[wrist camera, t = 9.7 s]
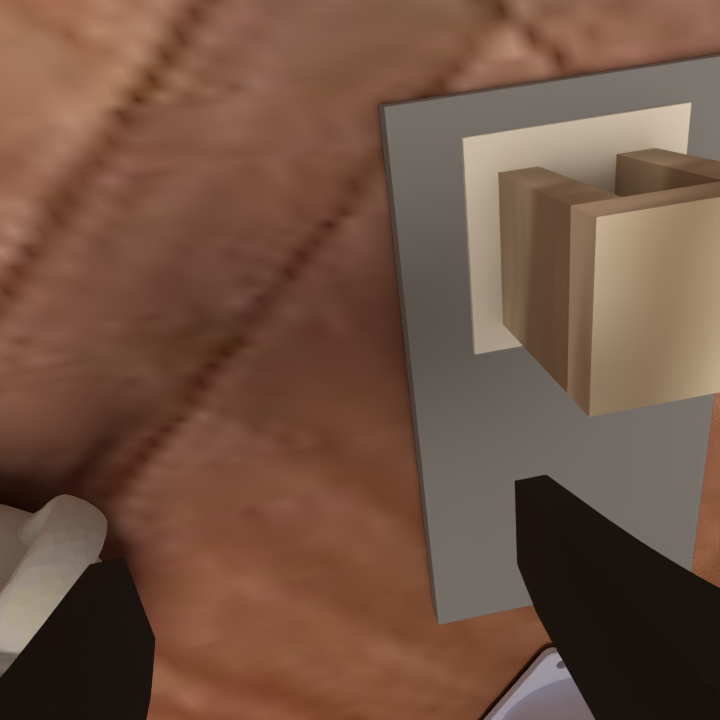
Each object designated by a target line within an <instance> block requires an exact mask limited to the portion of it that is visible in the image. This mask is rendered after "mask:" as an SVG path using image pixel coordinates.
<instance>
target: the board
mask: <svg viewBox="0 0 720 720" xmlns="http://www.w3.org/2000/svg"><path fill="white" fill-rule="evenodd" d="M378 108H379V117H380V126H381V135H382V144H383V154H384V163H385V172H386V181H387V190H388V200H389V209H390V218H391V227H392V236H393V245H394V255H395V264H396V273H397V282H398V291H399V301H400V310H401V319H402V328H403V337H404V346H405V356H406V365H407V374H408V383H409V392H410V402H411V411H412V420H413V429H414V438H415V448H416V457H417V466H418V475H419V484H420V493H421V503H422V512H423V521H424V530H425V539H426V549H427V558H428V567H429V576H430V585H431V594H432V604H433V608H434V612H435V615H436V618H437V621H438V624H439V625H440V624H445V623H450V622H454V621H459V620H464V619H469V618H473V617H478V616H483V615H488V614H492V613H497V612H502V611H506V610H511V609H516V608H521V607H525V606H530V605H533V603H532V600H531V598H530V596H529V593H528V591H527V588H526V586H525V583H524V581H523V578H522V575H521V573H520V570H519V568H518V565H517V549H516V514H515V480H520V479H525V478H530V477H535V476H541V475H548V476H549V477H551V478H552V479H553V480H555V481H556V482H558V483H559V484H560V485H562V486H563V487H564V488H566V489H567V490H569V491H570V492H571V493H573V494H574V495H575V496H577V497H578V498H580V499H581V500H582V501H584V502H585V503H586V504H588V505H589V506H591V507H592V508H593V509H595V510H596V511H598V512H599V513H600V514H602V515H603V516H605V517H606V518H607V519H609V520H610V521H612V522H613V523H615V524H616V525H617V526H619V527H620V528H622V529H623V530H625V531H626V532H628V533H629V534H631V535H632V536H634V537H635V538H637V539H638V540H640V541H641V542H643V543H644V544H646V545H648V546H649V547H651V548H652V549H654V550H655V551H657V552H659V553H660V554H662V555H663V556H665V557H667V558H668V559H670V560H672V561H673V562H675V563H677V564H678V565H680V566H682V567H683V568H685V569H687V570H688V571H690V572H691V570H692V563H693V555H694V547H695V540H696V532H697V525H698V517H699V510H700V502H701V494H702V487H703V479H704V472H705V464H706V457H707V449H708V442H709V434H710V426H711V419H712V411H713V404H714V396H715V393H714V394H709V395H704V396H698V397H693V398H688V399H682V400H677V401H672V402H666V403H661V404H656V405H650V406H645V407H640V408H635V409H629V410H624V411H619V412H613V413H608V414H603V415H597V416H592V417H589V416H588V415H587V414H586V413H585V412H584V411H583V410H582V409H581V408H580V407H579V406H578V405H577V403H576V402H575V401H574V400H573V399H572V398H571V397H570V396H569V395H568V394H567V393H566V392H565V391H564V389H563V388H562V387H561V386H560V385H559V384H558V383H557V382H556V381H555V380H554V379H553V378H552V377H551V376H550V374H549V373H548V372H547V371H546V370H545V369H544V368H543V367H542V366H541V365H540V364H539V363H538V362H537V360H536V359H535V358H534V357H533V356H532V355H531V354H530V353H529V352H528V351H527V350H526V349H525V348H524V347H523V345H522V344H521V343H520V342H519V341H518V340H517V339H516V338H515V337H514V336H513V335H512V334H511V333H510V332H509V330H508V329H507V328H506V327H505V326H504V325H503V312H502V280H501V247H500V214H499V181H498V173H499V172H506V171H512V170H518V169H525V168H531V167H537V166H538V167H541V168H544V169H547V170H549V171H552V172H555V173H558V174H560V175H563V176H566V177H568V178H571V179H574V180H577V181H579V182H582V183H585V184H588V185H590V186H593V187H596V188H599V189H601V190H604V191H607V192H609V193H612V194H615V177H616V156H617V154H620V153H626V152H632V151H639V150H645V149H651V148H658V149H663V150H668V151H672V152H677V153H682V154H687V155H692V156H696V157H701V158H706V159H711V160H715V161H720V54H714V55H707V56H700V57H694V58H687V59H680V60H674V61H667V62H660V63H654V64H647V65H641V66H634V67H627V68H621V69H614V70H607V71H601V72H594V73H587V74H581V75H574V76H568V77H561V78H554V79H548V80H541V81H534V82H528V83H521V84H514V85H508V86H501V87H495V88H488V89H481V90H475V91H468V92H461V93H455V94H448V95H442V96H435V97H428V98H422V99H415V100H408V101H402V102H395V103H388V104H382V105H378Z"/></svg>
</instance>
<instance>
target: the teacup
mask: <svg viewBox="0 0 720 720" xmlns="http://www.w3.org/2000/svg"><path fill="white" fill-rule="evenodd" d="M106 534H107V519H106V518H105V516H104V515H103V513H102V512H101V511H100V510H99V509H98V508H97V507H95V506H94V505H92V504H90V503H89V502H87V501H85V500H82V499H80V498H77V497H75V496H71V495H66V494H64V495H60V496H57V497H55V498H53V499H52V500H51V501H49V502H48V503H47V504H46V505H45V506H44V507H43V508H42V509H40V510H39V511H37V512H35V513H34V514H33V513H30V512H27V511H24V510H20V509H17V508H14V507H10V506H7V505H2V504H0V677H1V676H2V675H3V674H4V672H5V671H6V670H7V669H8V668H9V667H10V665H11V664H12V663H13V662H14V660H15V659H16V658H17V656H18V655H19V654H20V653H21V651H22V650H23V649H24V648H25V646H26V645H27V644H28V643H29V641H30V640H31V639H32V638H33V636H34V635H35V634H36V633H37V631H38V630H39V629H40V627H41V626H42V625H43V624H44V622H45V621H46V620H47V618H48V617H49V616H50V614H51V613H52V612H53V611H54V609H55V608H56V607H57V605H58V604H59V603H60V601H61V600H62V599H63V598H64V596H65V595H66V594H67V592H68V591H69V590H70V588H71V587H72V586H73V585H74V583H75V582H76V581H77V579H78V578H79V577H80V576H81V574H82V573H83V572H84V571H85V569H86V568H87V567H88V566H89V564H93V563H98V562H102V561H101V560H100V558H99V557H98V556H99V554H100V552H101V549H102V547H103V544H104V540H105V537H106Z"/></svg>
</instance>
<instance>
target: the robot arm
mask: <svg viewBox="0 0 720 720" xmlns="http://www.w3.org/2000/svg"><path fill="white" fill-rule="evenodd" d="M515 514H516V549H517V565H518V568H519V570H520V573H521V575H522V578H523V581H524V583H525V586H526V588H527V591H528V593H529V596H530V598H531V600H532V603H533V605H534V608H535V610H536V612H537V615H538V616H539V618H540V620H541V622H542V624H543V626H544V628H545V629H546V631H547V633H548V635H549V637H550V639H551V640H552V642H553V644H554V646H555V648H553V647H552V648H548V649H546V650H544V651H543V652H542V653H541V654H540V656H539V657H538V658H537V659H536V660H535V661H534V662H533V664H532V665H531V666H530V667H529V668H528V669H527V670H526V672H525V673H524V674H523V675H522V676H521V677H520V678H519V680H518V681H517V682H516V683H515V684H514V685H513V686H512V688H511V689H510V690H509V691H508V692H507V693H506V694H505V696H504V697H503V698H502V699H501V700H500V701H499V702H498V703H497V705H496V706H495V707H494V708H493V709H492V710H491V711H490V713H489V714H488V715H487V716H486V717H485V718H484V719H483V720H720V588H719V587H717V586H715V585H713V584H711V583H709V582H708V581H706V580H704V579H702V578H700V577H699V576H697V575H695V574H693V573H692V572H690V571H688V570H687V569H685V568H683V567H682V566H680V565H678V564H677V563H675V562H673V561H672V560H670V559H668V558H667V557H665V556H663V555H662V554H660V553H659V552H657V551H655V550H654V549H652V548H651V547H649V546H648V545H646V544H644V543H643V542H641V541H640V540H638V539H637V538H635V537H634V536H632V535H631V534H629V533H628V532H626V531H625V530H623V529H622V528H620V527H619V526H617V525H616V524H615V523H613V522H612V521H610V520H609V519H607V518H606V517H605V516H603V515H602V514H600V513H599V512H598V511H596V510H595V509H593V508H592V507H591V506H589V505H588V504H586V503H585V502H584V501H582V500H581V499H580V498H578V497H577V496H575V495H574V494H573V493H571V492H570V491H569V490H567V489H566V488H564V487H563V486H562V485H560V484H559V483H558V482H556V481H555V480H553V479H552V478H551V477H549V476H548V475H541V476H535V477H530V478H525V479H520V480H515ZM154 649H155V637H154V634H153V632H152V629H151V626H150V624H149V621H148V619H147V616H146V613H145V611H144V608H143V605H142V603H141V600H140V598H139V595H138V592H137V590H136V587H135V585H134V582H133V579H132V577H131V574H130V572H129V569H128V566H127V564H126V561H125V559H124V558H119V559H114V560H108V561H103V562H98V563H93V564H89V566H88V567H87V568H86V569H85V571H84V572H83V573H82V574H81V576H80V577H79V578H78V579H77V581H76V582H75V583H74V585H73V586H72V587H71V588H70V590H69V591H68V592H67V594H66V595H65V596H64V598H63V599H62V600H61V601H60V603H59V604H58V605H57V607H56V608H55V609H54V611H53V612H52V613H51V614H50V616H49V617H48V618H47V620H46V621H45V622H44V624H43V625H42V626H41V627H40V629H39V630H38V631H37V633H36V634H35V635H34V636H33V638H32V639H31V640H30V641H29V643H28V644H27V645H26V646H25V648H24V649H23V650H22V651H21V653H20V654H19V655H18V656H17V658H16V659H15V660H14V662H13V663H12V664H11V665H10V667H9V668H8V669H7V670H6V671H5V672H4V674H3V675H2V676H1V677H0V720H146V718H147V713H148V708H149V703H150V697H151V687H152V676H153V664H154Z"/></svg>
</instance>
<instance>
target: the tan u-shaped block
mask: <svg viewBox="0 0 720 720" xmlns="http://www.w3.org/2000/svg"><path fill="white" fill-rule="evenodd" d="M498 181H499V214H500V247H501V280H502V312H503V325H504V326H505V327H506V328H507V329H508V330H509V332H510V333H511V334H512V335H513V336H514V337H515V338H516V339H517V340H518V341H519V342H520V343H521V344H522V345H523V347H524V348H525V349H526V350H527V351H528V352H529V353H530V354H531V355H532V356H533V357H534V358H535V359H536V360H537V362H538V363H539V364H540V365H541V366H542V367H543V368H544V369H545V370H546V371H547V372H548V373H549V374H550V376H551V377H552V378H553V379H554V380H555V381H556V382H557V383H558V384H559V385H560V386H561V387H562V388H563V389H564V391H565V392H566V393H567V394H568V395H569V396H570V397H571V398H572V399H573V400H574V401H575V402H576V403H577V405H578V406H579V407H580V408H581V409H582V410H583V411H584V412H585V413H586V414H587V415H588V416H589V417H592V416H597V415H603V414H608V413H613V412H619V411H624V410H629V409H635V408H640V407H645V406H650V405H656V404H661V403H666V402H672V401H677V400H682V399H688V398H693V397H698V396H704V395H709V394H714V393H719V392H720V161H715V160H711V159H706V158H701V157H696V156H692V155H687V154H682V153H677V152H672V151H668V150H663V149H658V148H651V149H645V150H639V151H632V152H626V153H620V154H617V156H616V177H615V194H612V193H609V192H607V191H604V190H601V189H599V188H596V187H593V186H590V185H588V184H585V183H582V182H579V181H577V180H574V179H571V178H568V177H566V176H563V175H560V174H558V173H555V172H552V171H549V170H547V169H544V168H541V167H538V166H537V167H531V168H525V169H518V170H512V171H506V172H499V173H498Z"/></svg>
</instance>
